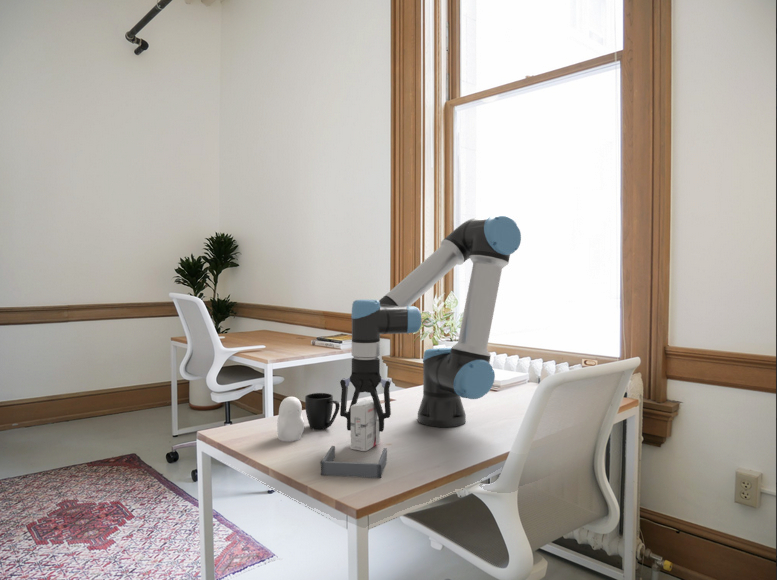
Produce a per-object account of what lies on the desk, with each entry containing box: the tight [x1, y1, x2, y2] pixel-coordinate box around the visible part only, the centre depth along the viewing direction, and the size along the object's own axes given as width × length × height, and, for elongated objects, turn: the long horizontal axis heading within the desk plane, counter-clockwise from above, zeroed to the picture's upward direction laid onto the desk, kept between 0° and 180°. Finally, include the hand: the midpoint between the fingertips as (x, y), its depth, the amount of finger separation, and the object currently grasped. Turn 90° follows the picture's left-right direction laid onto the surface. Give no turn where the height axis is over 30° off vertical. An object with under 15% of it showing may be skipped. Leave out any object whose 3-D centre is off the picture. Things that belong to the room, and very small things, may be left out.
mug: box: [304, 392, 341, 431], centre depth 164 cm, size 8×12×10 cm
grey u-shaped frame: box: [320, 445, 388, 479], centre depth 132 cm, size 14×12×3 cm
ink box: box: [350, 399, 378, 452], centre depth 148 cm, size 9×5×12 cm, turn 155°
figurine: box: [276, 396, 305, 442], centre depth 154 cm, size 7×8×12 cm
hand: (365, 442), depth 148 cm, fingers closed on ink box, 6 cm apart
